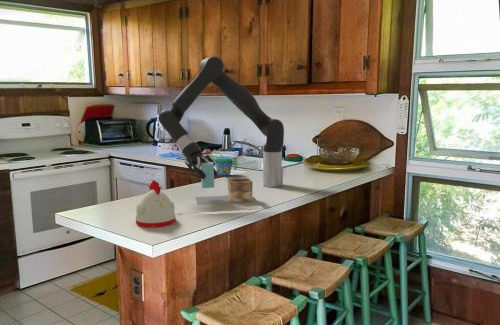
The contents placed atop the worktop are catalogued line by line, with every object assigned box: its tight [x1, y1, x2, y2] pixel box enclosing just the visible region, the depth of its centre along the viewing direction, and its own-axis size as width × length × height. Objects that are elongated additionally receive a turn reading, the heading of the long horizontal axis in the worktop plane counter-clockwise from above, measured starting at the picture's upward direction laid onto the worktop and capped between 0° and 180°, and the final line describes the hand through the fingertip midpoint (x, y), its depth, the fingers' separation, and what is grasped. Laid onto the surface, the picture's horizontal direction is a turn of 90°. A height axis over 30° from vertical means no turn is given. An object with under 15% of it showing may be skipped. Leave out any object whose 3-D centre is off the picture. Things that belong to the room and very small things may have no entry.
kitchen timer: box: [135, 179, 177, 229], centre depth 154 cm, size 14×14×15 cm
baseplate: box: [194, 195, 256, 206], centre depth 185 cm, size 24×14×1 cm, turn 101°
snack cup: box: [212, 155, 238, 177], centre depth 248 cm, size 16×10×10 cm
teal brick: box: [200, 161, 215, 189], centre depth 184 cm, size 5×5×10 cm
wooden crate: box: [227, 177, 254, 203], centre depth 184 cm, size 9×9×8 cm
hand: (210, 176), depth 183 cm, fingers closed on teal brick, 7 cm apart
